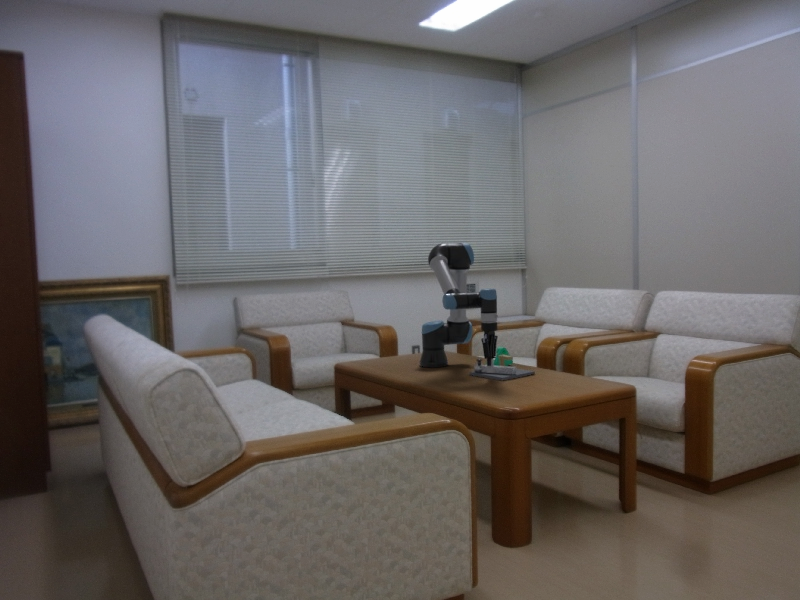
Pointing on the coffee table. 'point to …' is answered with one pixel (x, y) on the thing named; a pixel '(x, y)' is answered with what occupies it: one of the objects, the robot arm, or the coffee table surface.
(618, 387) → the coffee table surface
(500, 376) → the plate
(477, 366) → the link
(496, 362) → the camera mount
